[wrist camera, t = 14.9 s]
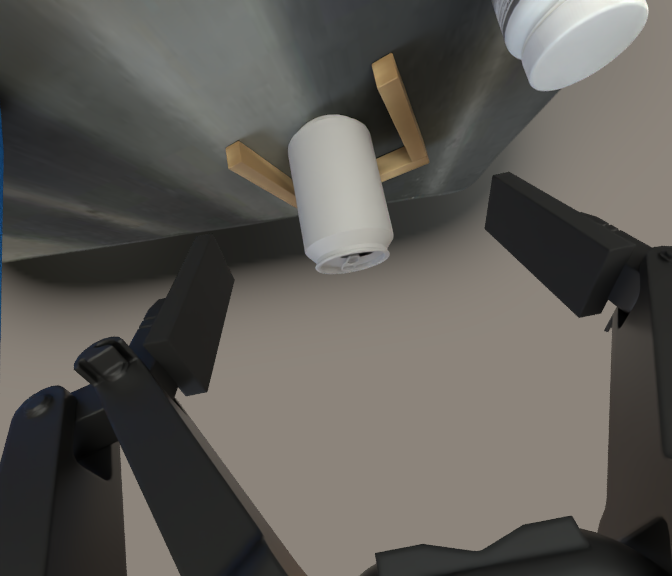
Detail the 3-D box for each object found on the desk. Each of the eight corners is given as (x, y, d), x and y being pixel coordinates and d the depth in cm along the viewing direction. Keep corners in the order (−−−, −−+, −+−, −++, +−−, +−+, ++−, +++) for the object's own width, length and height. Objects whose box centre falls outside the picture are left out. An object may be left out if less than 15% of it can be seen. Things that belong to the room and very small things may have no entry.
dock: (302, 198, 38) (305, 213, 37) (225, 147, 27) (228, 168, 26) (425, 145, 32) (429, 162, 31) (392, 51, 21) (398, 76, 20)
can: (382, 110, 26) (416, 246, 24) (351, 164, 33) (374, 273, 30) (294, 102, 23) (322, 253, 21) (280, 163, 30) (300, 281, 28)
